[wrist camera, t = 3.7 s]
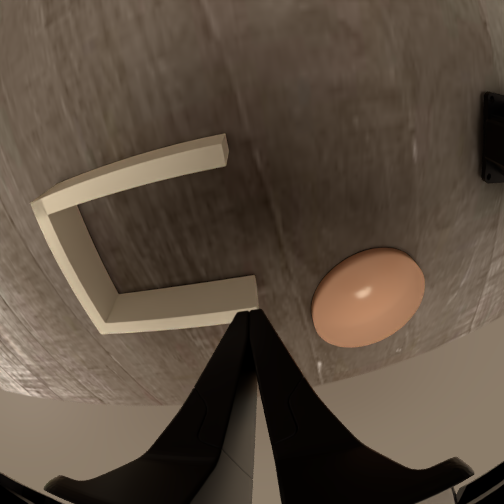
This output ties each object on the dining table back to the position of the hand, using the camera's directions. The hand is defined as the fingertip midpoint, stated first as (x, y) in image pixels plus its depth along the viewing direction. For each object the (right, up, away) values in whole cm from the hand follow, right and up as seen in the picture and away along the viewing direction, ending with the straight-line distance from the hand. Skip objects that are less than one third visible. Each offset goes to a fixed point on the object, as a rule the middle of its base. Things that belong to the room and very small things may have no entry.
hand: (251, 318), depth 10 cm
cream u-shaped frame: (-6, +3, +7) cm, 10 cm away
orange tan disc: (+9, -1, +10) cm, 14 cm away
